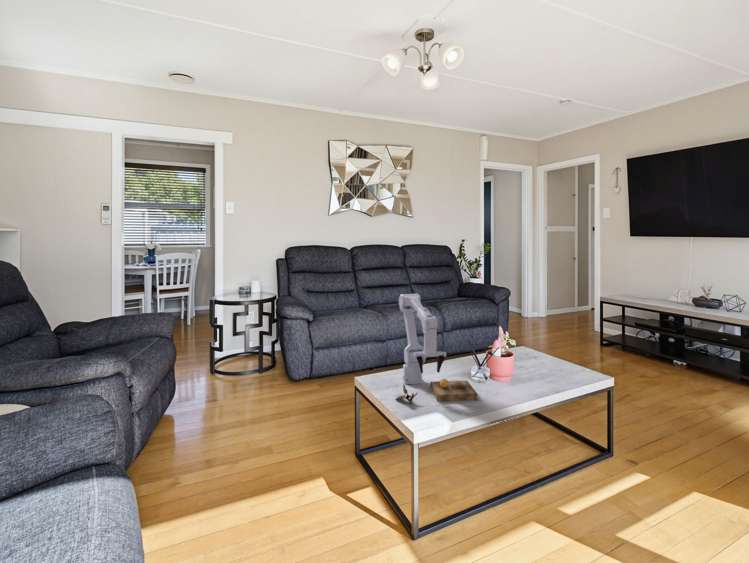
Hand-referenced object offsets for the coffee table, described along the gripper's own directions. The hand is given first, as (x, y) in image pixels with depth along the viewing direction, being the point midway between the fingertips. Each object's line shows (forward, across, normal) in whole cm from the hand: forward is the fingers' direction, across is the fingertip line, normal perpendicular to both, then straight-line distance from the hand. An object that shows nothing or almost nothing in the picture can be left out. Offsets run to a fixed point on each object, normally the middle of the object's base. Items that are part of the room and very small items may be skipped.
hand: (429, 372), depth 184 cm
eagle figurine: (+11, -12, -6) cm, 17 cm away
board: (+10, +11, 0) cm, 15 cm away
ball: (+5, +7, 0) cm, 9 cm away
